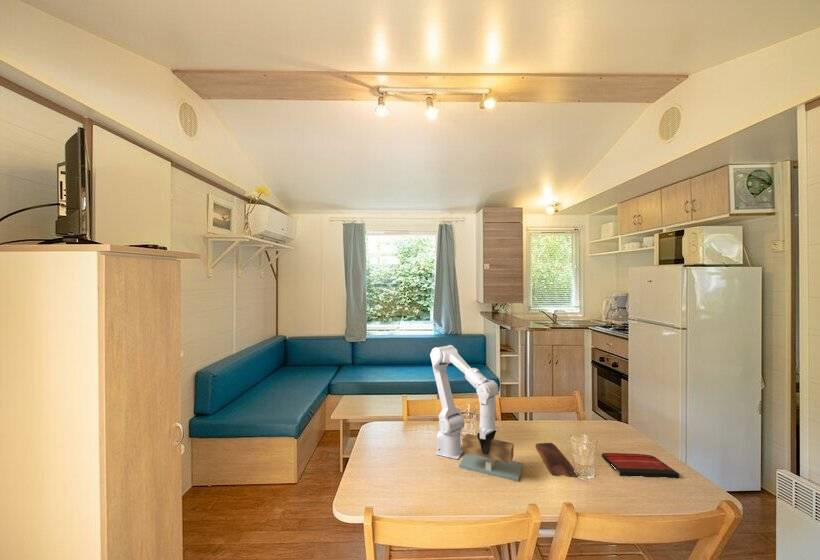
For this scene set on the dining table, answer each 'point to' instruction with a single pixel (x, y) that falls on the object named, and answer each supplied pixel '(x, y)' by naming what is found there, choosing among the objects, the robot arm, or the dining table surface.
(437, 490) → the dining table surface
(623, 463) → the binder
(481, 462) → the ridge stand
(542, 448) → the wooden tablet
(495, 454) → the walnut bar
